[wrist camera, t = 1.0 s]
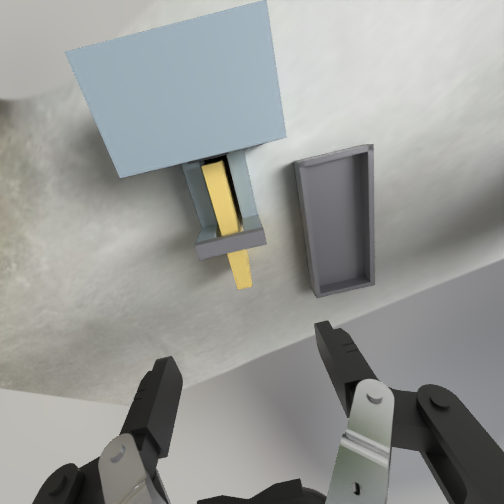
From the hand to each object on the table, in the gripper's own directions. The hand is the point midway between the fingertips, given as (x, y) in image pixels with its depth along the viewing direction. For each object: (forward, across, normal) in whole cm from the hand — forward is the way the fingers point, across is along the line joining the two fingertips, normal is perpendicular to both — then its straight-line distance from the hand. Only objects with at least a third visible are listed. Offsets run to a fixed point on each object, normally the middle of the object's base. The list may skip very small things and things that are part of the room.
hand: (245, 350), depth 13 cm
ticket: (+15, 0, -4) cm, 16 cm away
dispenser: (+15, 0, -10) cm, 18 cm away
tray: (+15, -11, 0) cm, 19 cm away
